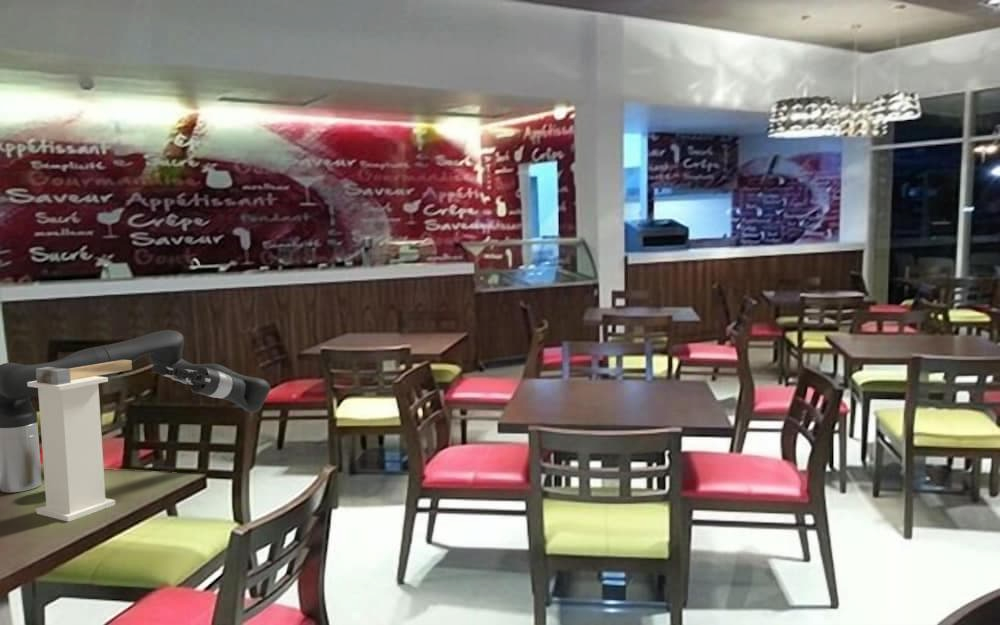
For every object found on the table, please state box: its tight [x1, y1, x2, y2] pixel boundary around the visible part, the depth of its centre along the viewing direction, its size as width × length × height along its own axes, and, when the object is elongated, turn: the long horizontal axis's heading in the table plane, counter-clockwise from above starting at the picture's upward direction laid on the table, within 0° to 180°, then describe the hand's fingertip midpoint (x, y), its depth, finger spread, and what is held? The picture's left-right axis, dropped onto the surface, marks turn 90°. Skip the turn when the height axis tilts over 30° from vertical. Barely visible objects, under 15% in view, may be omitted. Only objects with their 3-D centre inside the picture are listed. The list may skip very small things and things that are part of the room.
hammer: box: [36, 360, 133, 385], centre depth 179 cm, size 8×21×3 cm, turn 154°
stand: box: [27, 376, 116, 522], centre depth 175 cm, size 12×12×32 cm
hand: (163, 369), depth 194 cm, fingers open, 8 cm apart
